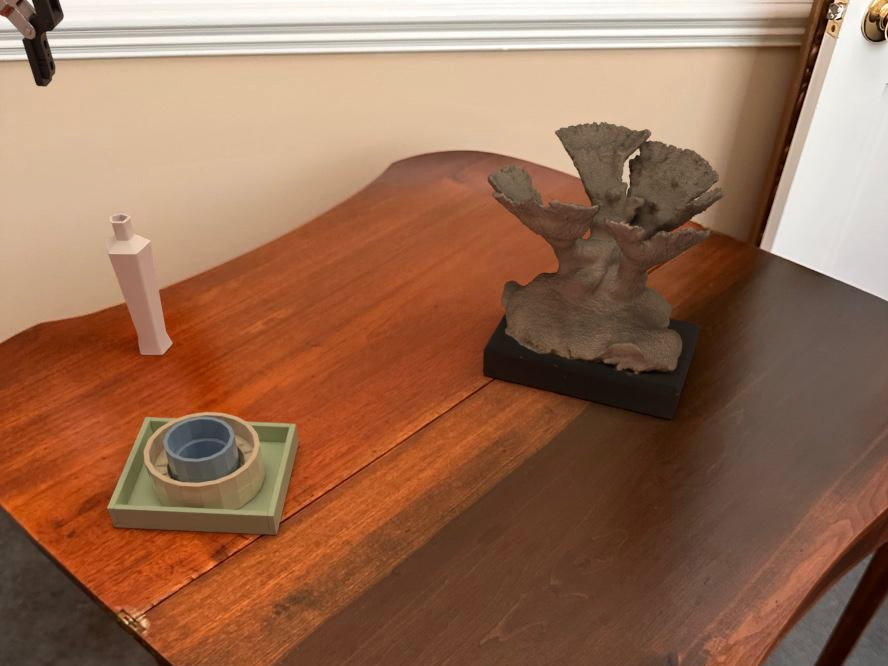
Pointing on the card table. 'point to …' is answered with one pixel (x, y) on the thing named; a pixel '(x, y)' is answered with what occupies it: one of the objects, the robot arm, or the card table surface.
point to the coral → (604, 273)
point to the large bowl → (208, 494)
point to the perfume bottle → (138, 284)
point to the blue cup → (201, 450)
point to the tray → (258, 516)
